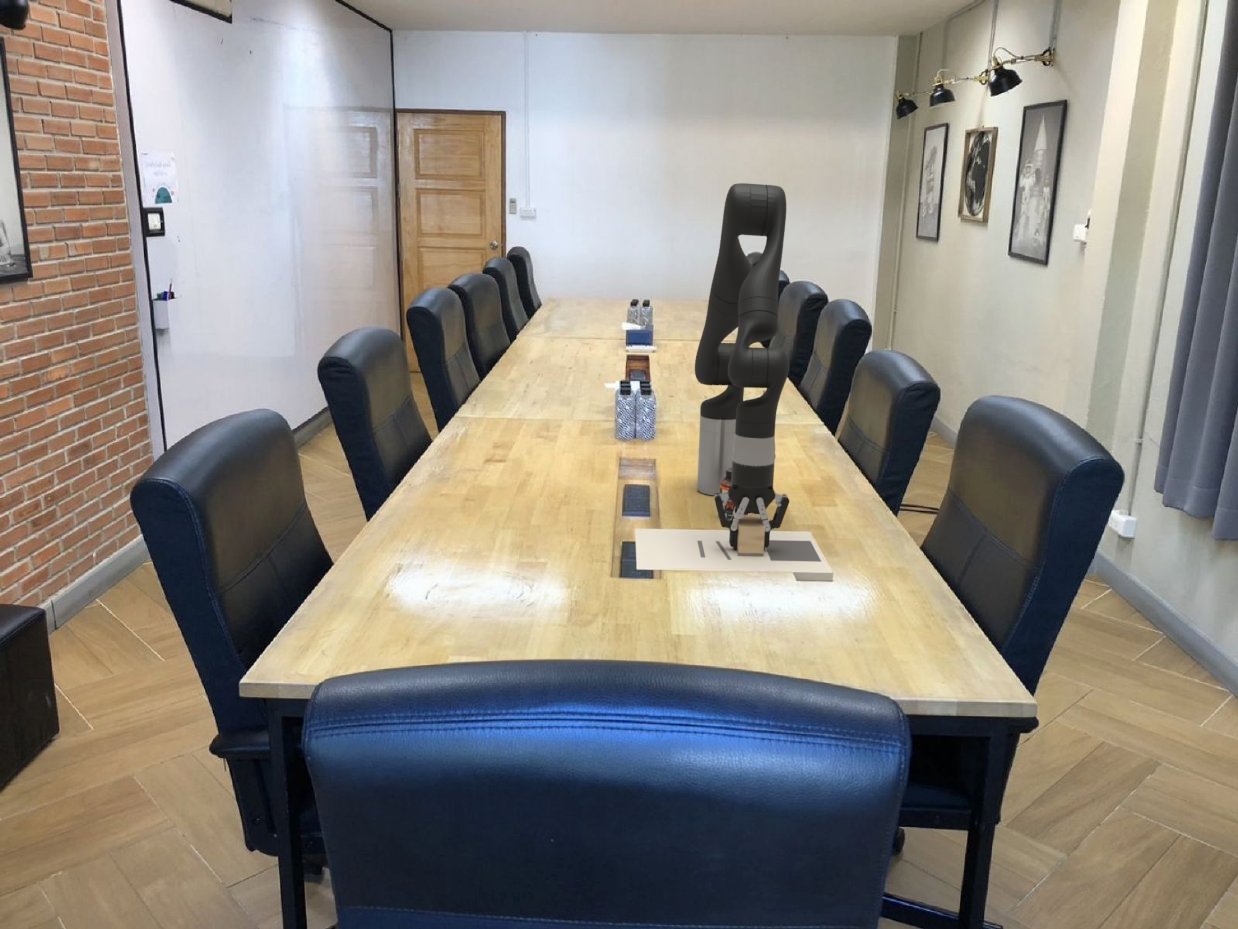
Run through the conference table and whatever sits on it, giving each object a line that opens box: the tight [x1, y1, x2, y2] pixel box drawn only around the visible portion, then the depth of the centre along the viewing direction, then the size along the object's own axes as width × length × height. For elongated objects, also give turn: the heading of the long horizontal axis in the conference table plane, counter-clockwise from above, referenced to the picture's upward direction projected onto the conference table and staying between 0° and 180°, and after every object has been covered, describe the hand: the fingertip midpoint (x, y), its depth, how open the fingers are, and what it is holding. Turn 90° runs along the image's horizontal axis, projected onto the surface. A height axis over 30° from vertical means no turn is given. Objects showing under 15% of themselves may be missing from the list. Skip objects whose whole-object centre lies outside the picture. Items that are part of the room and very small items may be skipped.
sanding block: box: [737, 514, 765, 557], centre depth 186 cm, size 7×4×6 cm, turn 179°
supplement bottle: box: [720, 467, 749, 520], centre depth 205 cm, size 6×6×11 cm
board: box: [634, 528, 834, 582], centre depth 187 cm, size 22×34×2 cm, turn 90°
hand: (748, 548), depth 187 cm, fingers closed on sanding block, 4 cm apart
